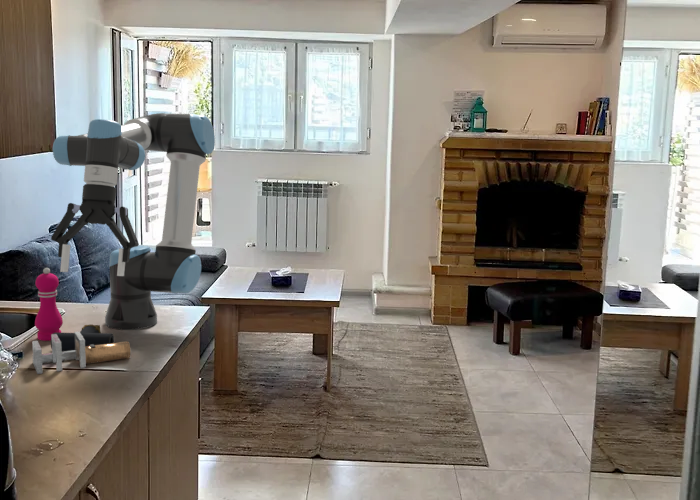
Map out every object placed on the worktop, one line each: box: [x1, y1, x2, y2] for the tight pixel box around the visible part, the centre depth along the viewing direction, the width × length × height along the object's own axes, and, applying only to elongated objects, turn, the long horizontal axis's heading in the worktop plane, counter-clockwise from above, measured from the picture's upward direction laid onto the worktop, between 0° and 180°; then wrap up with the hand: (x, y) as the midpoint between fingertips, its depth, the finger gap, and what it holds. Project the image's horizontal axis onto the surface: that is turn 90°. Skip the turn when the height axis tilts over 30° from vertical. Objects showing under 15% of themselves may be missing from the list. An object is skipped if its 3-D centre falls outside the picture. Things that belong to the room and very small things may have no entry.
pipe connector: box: [50, 324, 115, 352], centre depth 200 cm, size 12×5×15 cm
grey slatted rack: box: [31, 331, 87, 375], centre depth 185 cm, size 11×9×7 cm
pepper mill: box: [34, 267, 64, 342], centre depth 206 cm, size 7×7×20 cm
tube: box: [78, 341, 132, 365], centre depth 190 cm, size 12×4×4 cm, turn 119°
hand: (92, 274), depth 175 cm, fingers open, 13 cm apart
